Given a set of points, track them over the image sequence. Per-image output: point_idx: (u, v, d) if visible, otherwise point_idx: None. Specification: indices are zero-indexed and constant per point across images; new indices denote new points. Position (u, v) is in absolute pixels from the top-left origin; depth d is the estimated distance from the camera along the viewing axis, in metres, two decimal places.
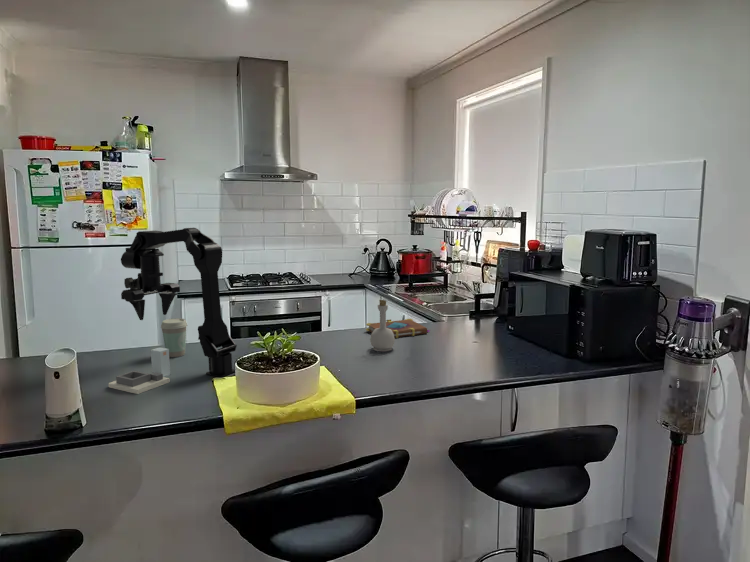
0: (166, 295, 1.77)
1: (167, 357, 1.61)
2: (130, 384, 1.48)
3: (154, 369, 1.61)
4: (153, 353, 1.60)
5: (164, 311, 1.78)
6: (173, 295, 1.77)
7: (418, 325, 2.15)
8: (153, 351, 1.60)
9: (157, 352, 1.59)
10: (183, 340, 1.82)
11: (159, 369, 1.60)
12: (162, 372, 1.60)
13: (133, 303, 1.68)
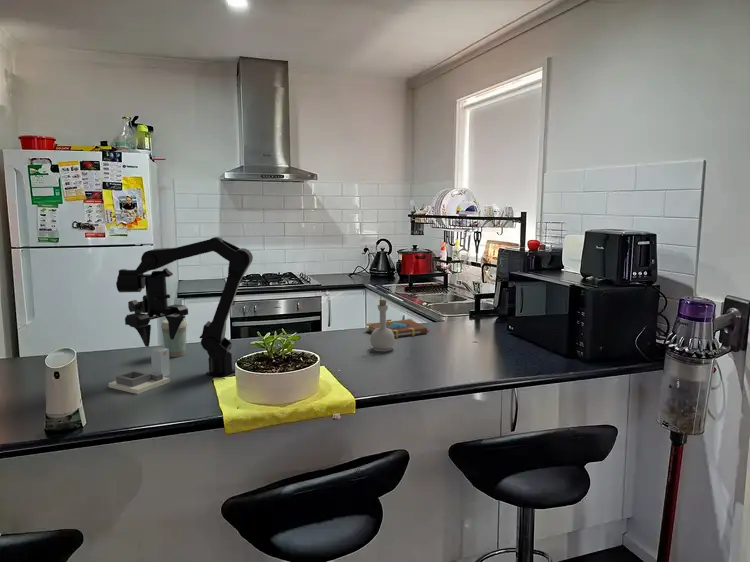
0: (173, 318, 1.64)
1: (167, 357, 1.61)
2: (130, 384, 1.48)
3: (154, 370, 1.61)
4: (153, 353, 1.60)
5: (171, 336, 1.64)
6: (181, 318, 1.64)
7: (418, 325, 2.15)
8: (153, 351, 1.60)
9: (157, 352, 1.59)
10: (183, 340, 1.82)
11: (159, 369, 1.60)
12: (162, 372, 1.60)
13: (138, 328, 1.55)
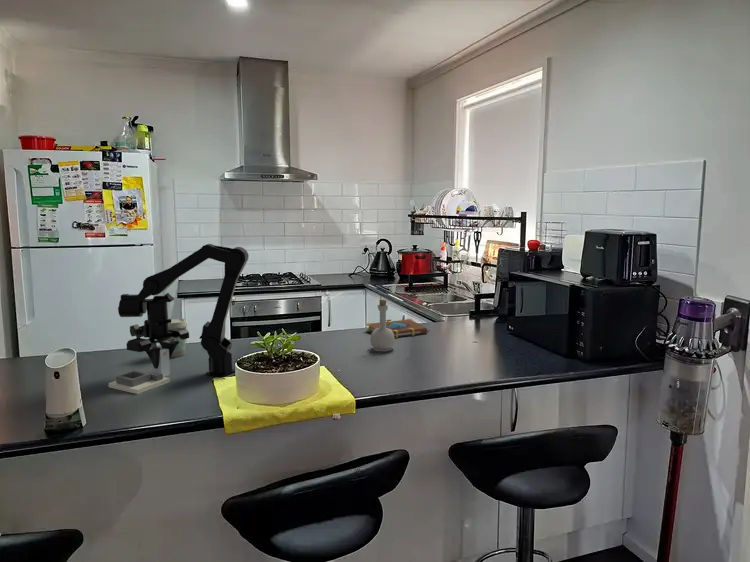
0: (167, 344, 1.62)
1: (167, 357, 1.61)
2: (130, 384, 1.48)
3: (154, 369, 1.61)
4: None
5: None
6: (175, 344, 1.62)
7: (418, 325, 2.15)
8: None
9: None
10: (183, 340, 1.82)
11: (159, 369, 1.60)
12: (162, 372, 1.60)
13: (147, 351, 1.58)
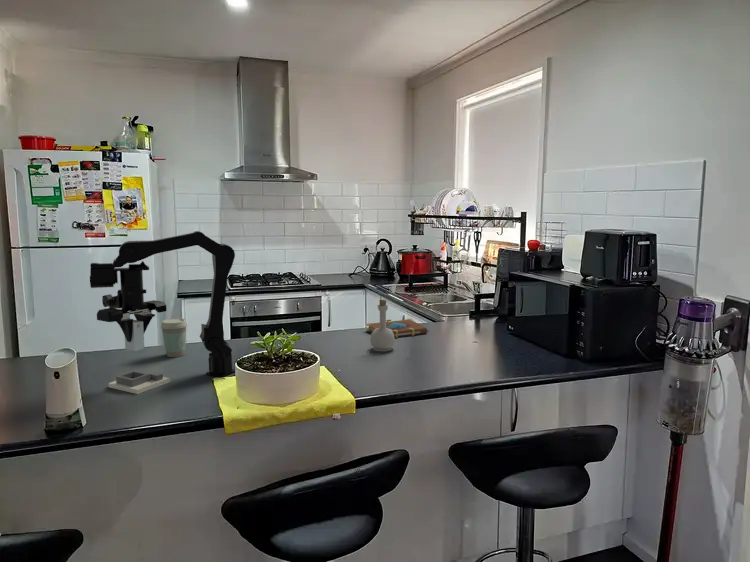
0: (142, 316, 1.53)
1: (141, 330, 1.52)
2: (130, 384, 1.48)
3: (127, 343, 1.51)
4: None
5: None
6: (150, 317, 1.53)
7: (418, 325, 2.15)
8: None
9: None
10: (183, 340, 1.82)
11: (132, 342, 1.50)
12: (135, 345, 1.50)
13: (120, 323, 1.49)
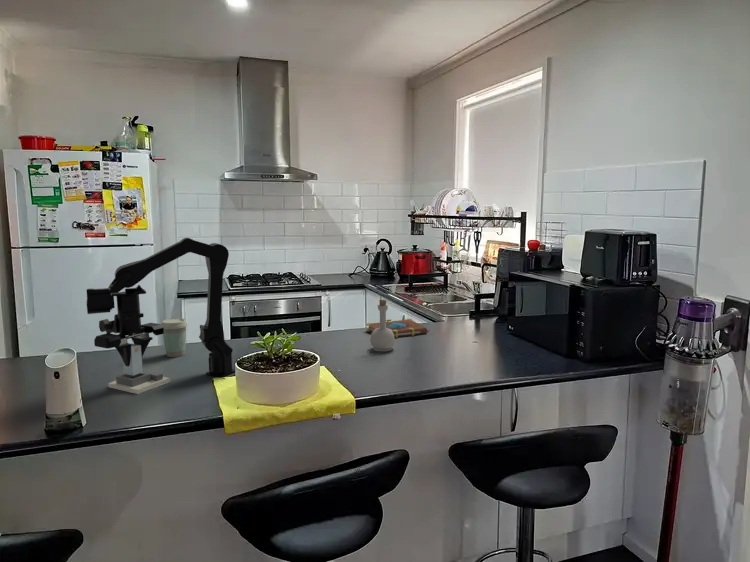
0: (139, 340, 1.52)
1: (139, 354, 1.51)
2: (130, 384, 1.48)
3: (125, 367, 1.51)
4: None
5: None
6: (148, 340, 1.52)
7: (418, 325, 2.15)
8: None
9: None
10: (183, 340, 1.82)
11: (130, 366, 1.50)
12: (133, 370, 1.50)
13: (118, 347, 1.48)
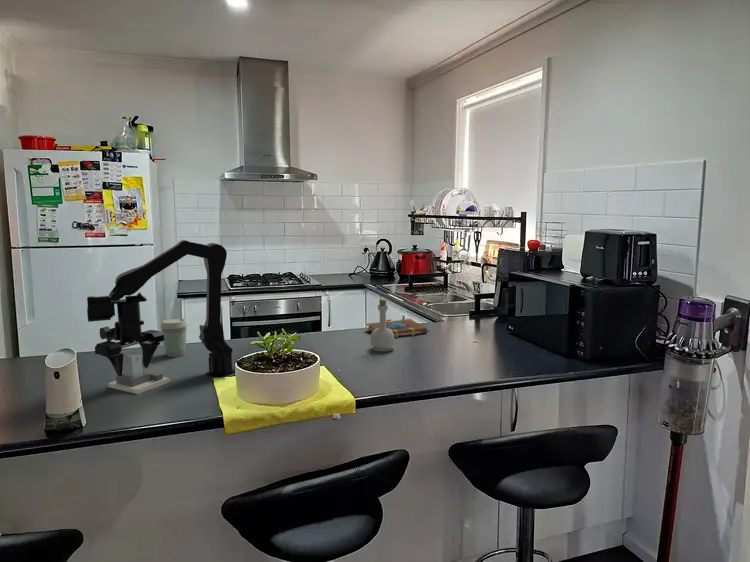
0: (147, 345, 1.55)
1: (140, 363, 1.51)
2: (130, 384, 1.48)
3: (126, 376, 1.51)
4: (124, 358, 1.50)
5: (145, 364, 1.55)
6: (155, 345, 1.55)
7: (418, 325, 2.15)
8: (124, 356, 1.50)
9: (129, 357, 1.49)
10: (183, 340, 1.82)
11: (130, 375, 1.50)
12: None
13: (110, 357, 1.46)
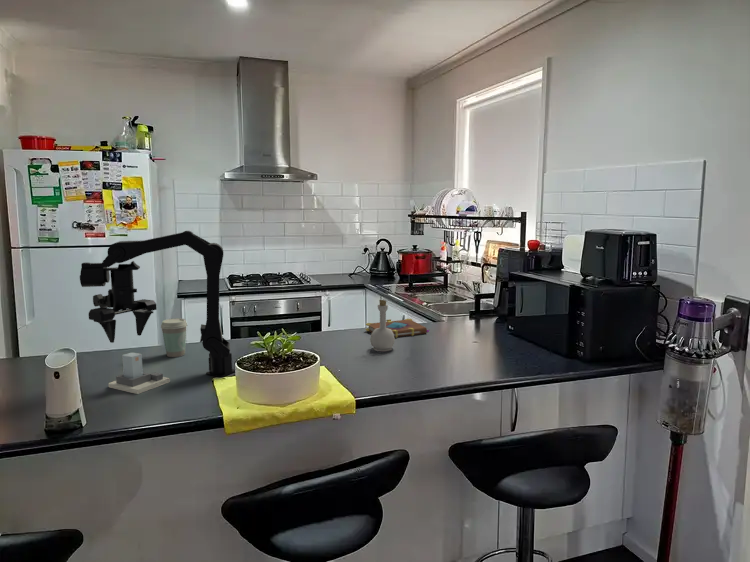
0: (141, 313, 1.58)
1: (140, 363, 1.51)
2: (130, 384, 1.48)
3: (126, 376, 1.51)
4: (124, 358, 1.50)
5: (138, 331, 1.58)
6: (149, 313, 1.58)
7: (418, 325, 2.15)
8: (124, 356, 1.50)
9: (129, 357, 1.49)
10: (183, 340, 1.82)
11: (130, 375, 1.50)
12: None
13: (102, 324, 1.49)
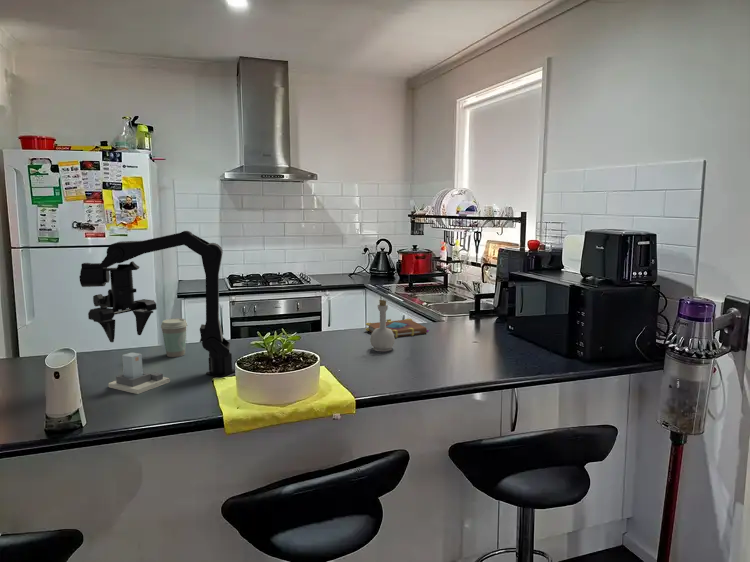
0: (141, 313, 1.59)
1: (140, 363, 1.51)
2: (130, 384, 1.48)
3: (126, 376, 1.51)
4: (124, 358, 1.50)
5: (139, 331, 1.59)
6: (148, 313, 1.59)
7: (418, 325, 2.15)
8: (124, 356, 1.50)
9: (129, 357, 1.49)
10: (183, 340, 1.82)
11: (130, 375, 1.50)
12: None
13: (102, 323, 1.50)
